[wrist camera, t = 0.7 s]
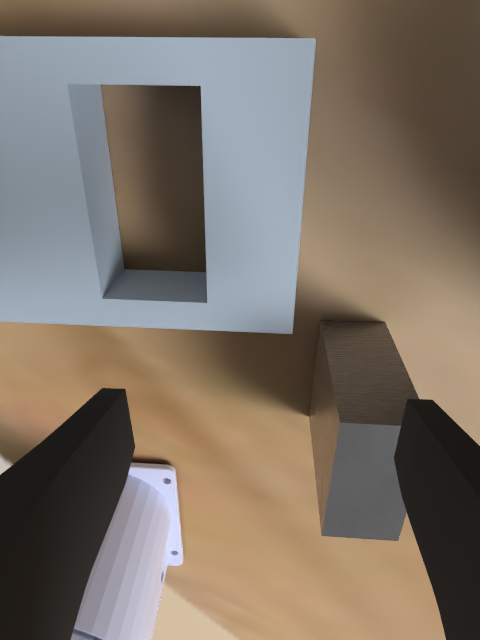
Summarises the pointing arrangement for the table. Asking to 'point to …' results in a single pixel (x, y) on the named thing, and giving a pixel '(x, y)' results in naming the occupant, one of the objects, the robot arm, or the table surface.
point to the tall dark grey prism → (358, 429)
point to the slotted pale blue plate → (98, 189)
